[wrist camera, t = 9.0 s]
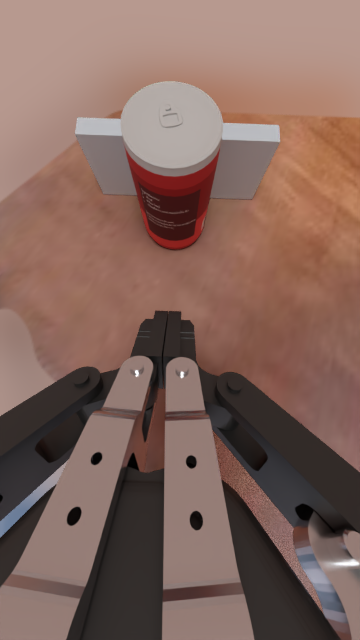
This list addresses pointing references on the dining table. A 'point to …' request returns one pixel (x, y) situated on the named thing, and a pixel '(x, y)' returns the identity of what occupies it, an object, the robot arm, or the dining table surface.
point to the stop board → (232, 167)
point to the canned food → (172, 158)
